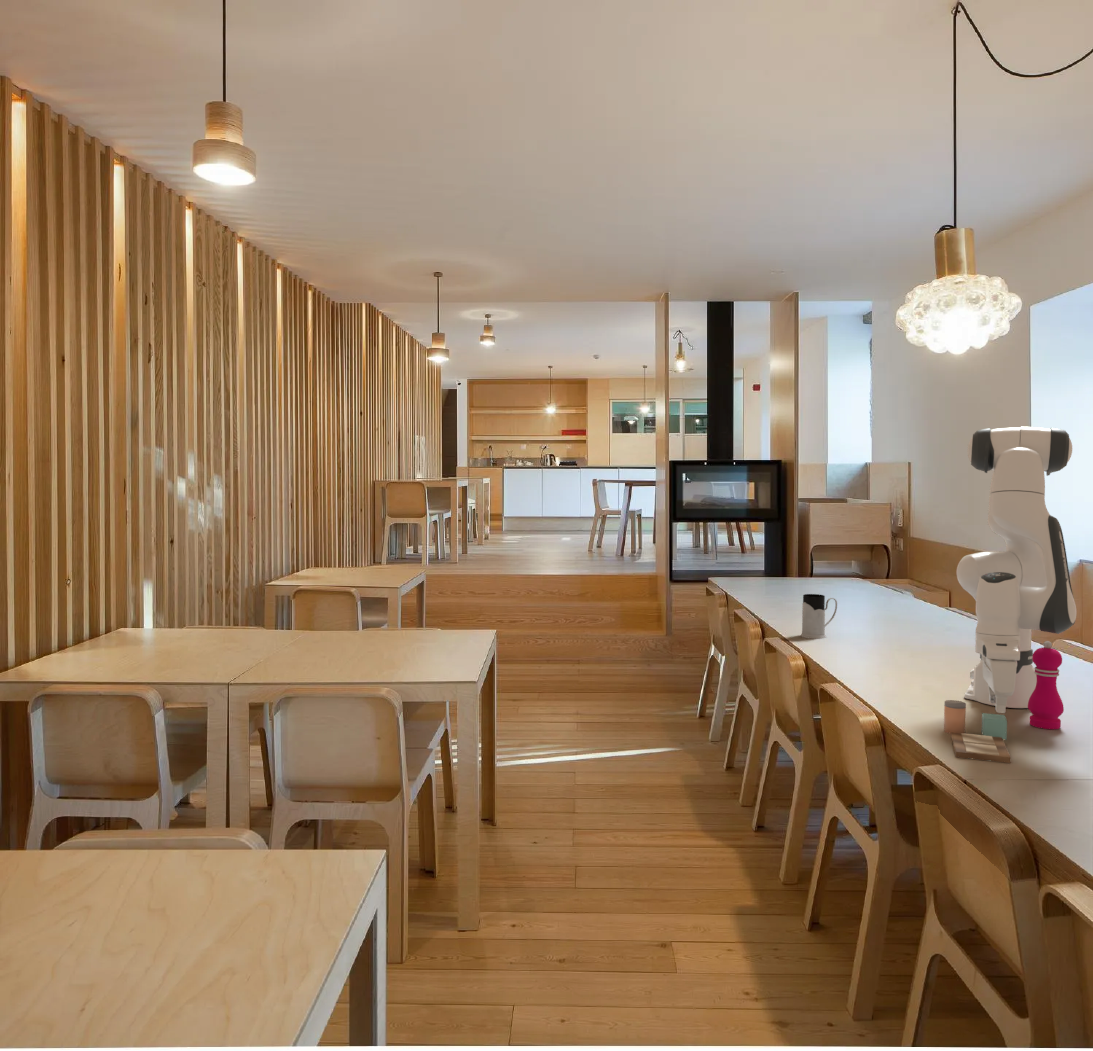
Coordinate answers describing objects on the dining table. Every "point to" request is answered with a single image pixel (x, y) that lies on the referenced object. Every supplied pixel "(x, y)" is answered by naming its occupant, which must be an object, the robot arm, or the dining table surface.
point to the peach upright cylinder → (954, 716)
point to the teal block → (994, 725)
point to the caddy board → (980, 747)
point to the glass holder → (814, 616)
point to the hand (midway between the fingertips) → (997, 707)
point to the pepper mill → (1046, 689)
